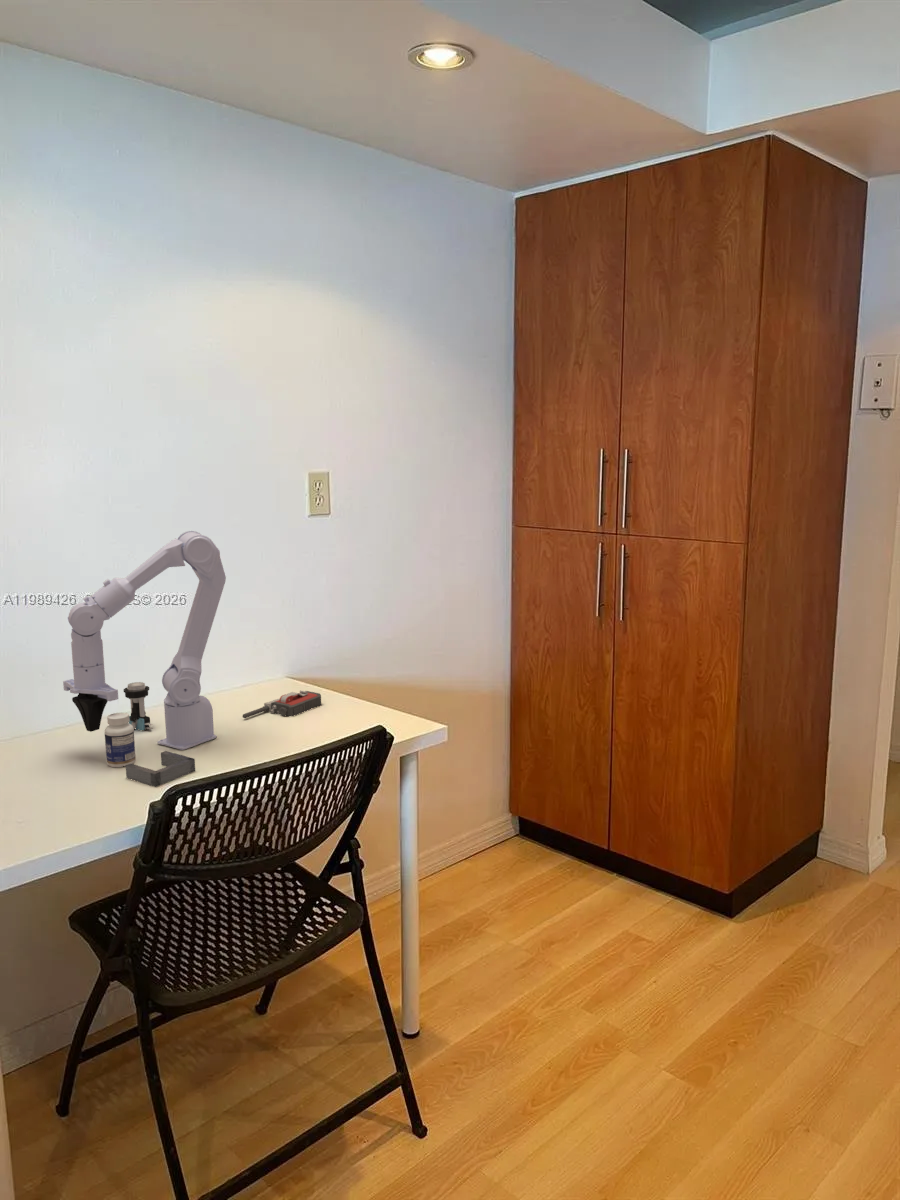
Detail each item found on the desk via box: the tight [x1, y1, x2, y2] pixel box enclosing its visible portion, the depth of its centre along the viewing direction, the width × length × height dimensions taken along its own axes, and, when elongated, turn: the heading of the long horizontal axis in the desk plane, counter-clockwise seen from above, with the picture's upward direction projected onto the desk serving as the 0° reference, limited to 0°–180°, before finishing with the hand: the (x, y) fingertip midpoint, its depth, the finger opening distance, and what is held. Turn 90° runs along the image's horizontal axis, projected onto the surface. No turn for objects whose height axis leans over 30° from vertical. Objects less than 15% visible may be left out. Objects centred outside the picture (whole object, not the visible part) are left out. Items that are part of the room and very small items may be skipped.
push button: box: [123, 681, 153, 731], centre depth 196 cm, size 7×5×10 cm
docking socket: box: [125, 750, 196, 788], centre depth 170 cm, size 9×8×2 cm
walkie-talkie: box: [242, 690, 322, 719], centre depth 209 cm, size 9×4×20 cm
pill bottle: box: [104, 712, 136, 768], centre depth 176 cm, size 5×5×10 cm
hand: (93, 729), depth 180 cm, fingers closed
